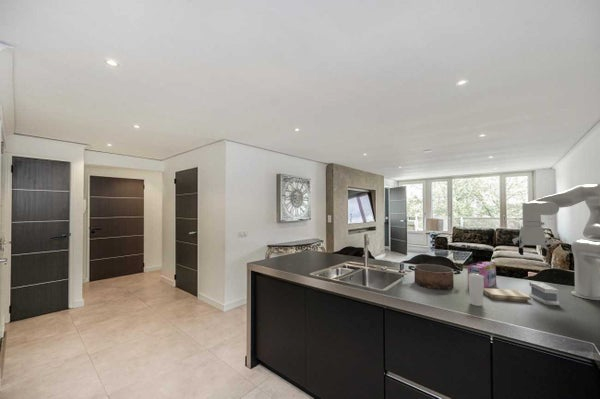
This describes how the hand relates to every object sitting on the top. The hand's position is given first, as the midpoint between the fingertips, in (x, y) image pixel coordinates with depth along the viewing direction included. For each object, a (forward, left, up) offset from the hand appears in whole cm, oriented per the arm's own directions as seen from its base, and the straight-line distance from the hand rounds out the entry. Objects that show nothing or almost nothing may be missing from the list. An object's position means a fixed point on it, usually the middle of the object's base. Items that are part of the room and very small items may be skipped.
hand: (532, 255), depth 141 cm
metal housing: (-3, +2, -24) cm, 24 cm away
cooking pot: (+47, -15, -24) cm, 54 cm away
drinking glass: (+35, +16, -24) cm, 45 cm away
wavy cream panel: (+15, +2, -24) cm, 28 cm away
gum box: (+17, -19, -24) cm, 35 cm away
